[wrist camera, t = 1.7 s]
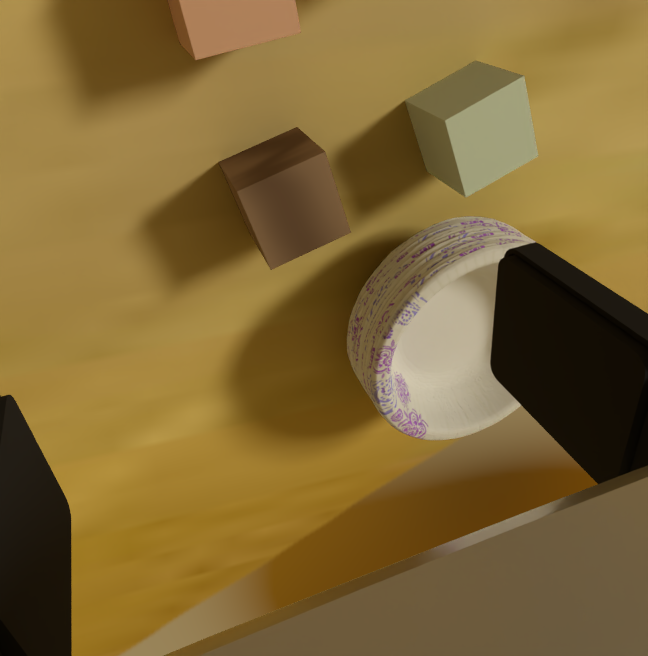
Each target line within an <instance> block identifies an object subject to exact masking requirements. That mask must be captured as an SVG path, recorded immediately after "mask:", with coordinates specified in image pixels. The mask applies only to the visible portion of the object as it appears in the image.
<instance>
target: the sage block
mask: <svg viewBox="0 0 648 656" xmlns="http://www.w3.org/2000/svg"><path fill="white" fill-rule="evenodd" d="M405 103H406V106H407V109H408V112H409V116H410V119H411V122H412V125H413V128H414V132H415V135H416V138H417V141H418V144H419V148H420V151H421V154H422V157H423V160H424V164H425V167H426V170H427V172H429V173H430V174H432V175H433V176H435V177H436V178H438V179H439V180H441V181H442V182H444V183H445V184H447V185H448V186H450V187H451V188H453V189H454V190H455V191H457V192H458V193H460V194H461V195H463V196H464V197H468V196H470V195H471V194H473V193H475V192H477V191H478V190H480V189H482V188H484V187H485V186H487V185H489V184H490V183H492V182H494V181H496V180H497V179H499V178H501V177H503V176H504V175H506V174H508V173H510V172H511V171H513V170H515V169H517V168H518V167H520V166H522V165H524V164H525V163H527V162H529V161H531V160H532V159H534V158H536V157H538V152H537V146H536V140H535V135H534V129H533V123H532V118H531V112H530V106H529V101H528V95H527V89H526V83H525V78H524V76H523V75H520V74H517V73H514V72H511V71H507V70H504V69H501V68H498V67H495V66H492V65H488V64H485V63H482V62H479V61H474V62H472V63H471V64H469V65H467V66H465V67H463V68H462V69H460V70H458V71H456V72H455V73H453V74H451V75H449V76H448V77H446V78H444V79H442V80H440V81H439V82H437V83H435V84H433V85H432V86H430V87H428V88H426V89H424V90H423V91H421V92H419V93H417V94H416V95H414V96H412V97H410V98H408V99H407V100H405Z"/></svg>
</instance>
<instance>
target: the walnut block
mask: <svg viewBox="0 0 648 656" xmlns="http://www.w3.org/2000/svg"><path fill="white" fill-rule="evenodd" d="M219 165H220V167H221V169H222V171H223V174H224V176H225V178H226V180H227V183H228V185H229V187H230V189H231V192H232V194H233V196H234V198H235V201H236V203H237V205H238V207H239V210H240V212H241V214H242V216H243V219H244V221H245V223H246V225H247V228H248V230H249V232H250V234H251V236H252V238H253V240H254V241H255V243H256V245H257V247H258V248H259V250H260V252H261V253H262V255H263V257H264V259H265V260H266V262H267V264H268V265H269V267H270V269H271V270H272V269H274V268H276V267H278V266H280V265H282V264H284V263H287V262H289V261H291V260H293V259H295V258H297V257H299V256H302V255H304V254H306V253H308V252H310V251H312V250H314V249H317V248H319V247H321V246H323V245H325V244H327V243H329V242H332V241H334V240H336V239H338V238H340V237H342V236H344V235H347V234H349V233H351V231H350V228H349V225H348V222H347V219H346V216H345V212H344V209H343V206H342V203H341V200H340V197H339V194H338V191H337V187H336V184H335V181H334V178H333V175H332V172H331V169H330V165H329V162H328V159H327V156H326V153H325V151H324V150H323V149H321V148H320V147H319V146H318V145H317V144H316V143H315V142H313V141H312V140H311V139H310V138H309V137H308V136H307V135H306V134H304V133H303V132H302V131H301V130H300V129H299V128H298V127H296V128H294V129H292V130H289V131H287V132H285V133H283V134H280V135H278V136H276V137H274V138H271V139H269V140H267V141H265V142H263V143H260V144H258V145H256V146H254V147H251V148H249V149H247V150H245V151H242V152H240V153H238V154H236V155H233V156H231V157H229V158H227V159H225V160H222V161H220V162H219Z"/></svg>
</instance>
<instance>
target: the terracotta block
mask: <svg viewBox="0 0 648 656" xmlns="http://www.w3.org/2000/svg"><path fill="white" fill-rule="evenodd" d="M167 1H168V4H169V8H170V11H171V15H172V18H173V22H174V25H175V28H176V32H177V35H178V39H179V42H180V44H181V45H182V46H183V47H184V48H185V49H186V51H187V52H188V53H189V54H190V55H191V56H192V57H193V58H194V59H195V60H198V59H202V58H206V57H210V56H214V55H217V54H221V53H225V52H229V51H233V50H237V49H241V48H244V47H248V46H252V45H256V44H260V43H264V42H268V41H271V40H275V39H279V38H283V37H287V36H291V35H294V34H298V33H301V29H300V24H299V18H298V12H297V7H296V1H295V0H167Z"/></svg>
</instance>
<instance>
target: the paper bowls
mask: <svg viewBox="0 0 648 656" xmlns="http://www.w3.org/2000/svg"><path fill="white" fill-rule="evenodd" d="M530 243H536V242H535V241H534V240H532V239H530V238H529V237H527V236H525V235H524V234H522V233H521V232H519V231H518V230H516V229H515V228H513V227H512V226H510V225H508V224H505V223H503V222H500V221H498V220H495V219H491V218H484V217H473V216H468V217H458V218H452V219H448V220H445V221H442V222H439V223H437V224H434V225H432V226H430V227H428V228H426V229H424V230H422V231H420V232H419V233H417V234H415V235H414V236H412V237H411V238H409V239H408V240H406V241H405V242H403V243H402V244H400V245H399V246H398V247H397V248H395V249H394V250H393V251H392V252H391V253H390V254H389V255H388V256H387V257H386V258H385V259H384V260H383V261H382V262H381V264H380V265H379V266H378V267H377V269H376V270H375V271H374V272H373V274H372V275H371V276H370V278H369V279H368V280H367V282H366V283H365V285H364V286H363V288H362V290H361V291H360V293H359V296H358V298H357V301H356V303H355V305H354V307H353V310H352V313H351V316H350V320H349V326H348V333H347V352H348V357H349V360H350V363H351V366H352V368H353V370H354V372H355V374H356V376H357V378H358V379H359V381H360V383H361V384H362V386H363V388H364V389H365V391H366V393H367V394H368V395H369V397H370V398H371V400H372V402H373V403H374V405H375V407H376V409H377V410H378V412H379V413H380V415H382V416H383V417H384V419H385V420H386V421H387V422H388V423H389V424H390V425H391V426H393V427H394V428H395V429H397V430H398V431H400V432H402V433H404V434H406V435H409V436H412V437H415V438H419V439H424V440H446V439H454V438H459V437H463V436H466V435H470V434H473V433H475V432H478V431H480V430H482V429H485V428H487V427H489V426H491V425H493V424H495V423H497V422H498V421H500V420H502V419H503V418H505V417H506V416H508V415H509V414H510V413H512V412H513V411H515V410H516V409H517V408H518V407H519V406H521V404H520V403H519V402H518V401H517V400H516V399H515V398H514V397H513V396H512V395H511V394H510V393H509V392H508V391H507V390H506V389H505V388H504V387H503V386H502V385H501V384H500V383H499V382H498V381H497V379H496V378H495V377H494V375H493V373H492V370H491V366H490V358H491V346H492V334H493V321H494V309H495V297H496V284H497V272H498V264H499V261H500V260H501V259H502V258H504V255H505V253H506V251H508V250H509V249H511V248H515V247H519V246H522V245H526V244H530Z"/></svg>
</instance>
